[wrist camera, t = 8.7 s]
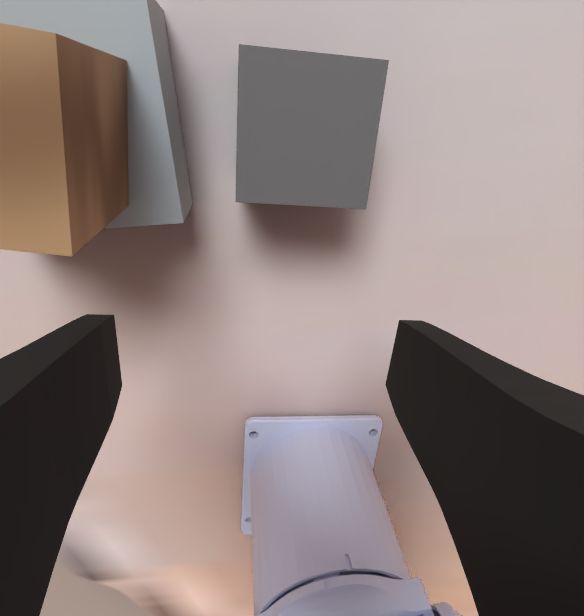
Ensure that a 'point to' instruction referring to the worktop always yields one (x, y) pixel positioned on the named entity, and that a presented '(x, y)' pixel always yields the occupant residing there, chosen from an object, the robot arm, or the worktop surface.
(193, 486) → the worktop surface
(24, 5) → the slate base block
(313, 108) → the charcoal block
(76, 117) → the walnut block
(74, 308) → the worktop surface
